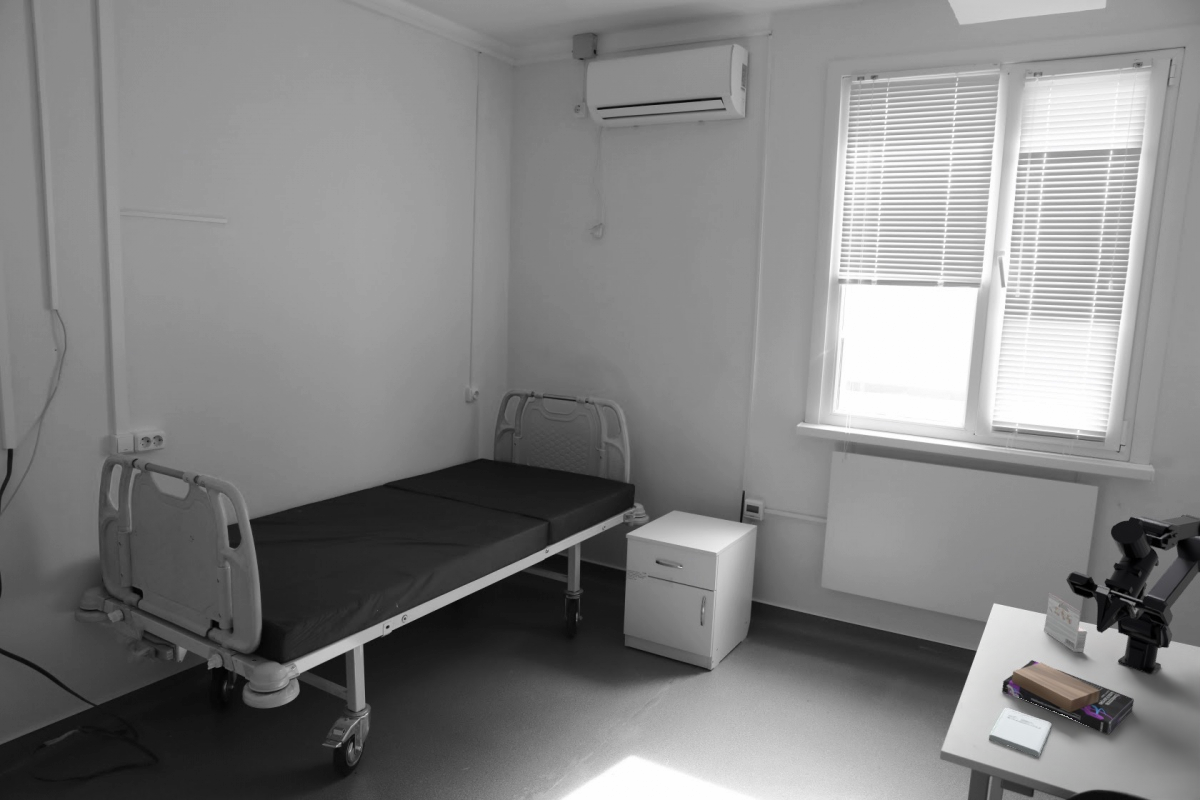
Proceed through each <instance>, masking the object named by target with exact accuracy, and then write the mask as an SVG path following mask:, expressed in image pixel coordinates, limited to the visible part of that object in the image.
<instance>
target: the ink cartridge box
mask: <svg viewBox="0 0 1200 800" xmlns="http://www.w3.org/2000/svg"><path fill="white" fill-rule="evenodd" d="M1047 602H1048V603H1047V611H1046V615H1045V620H1044V621H1045V623H1044V628H1043V631H1044V633H1047V634H1048V635H1050V636H1051V638H1054V639H1055V640H1057V641H1059V643H1061V644H1063V645H1064V646H1065V647H1067V648H1069V650H1071V651H1072V652H1075V653H1083V652H1084V651H1085V650H1084V649H1085V646H1086V640H1087V634H1088V632H1087V630H1086V629H1084V628H1082V626H1080V621H1081V613H1082V612H1081V611H1080V610H1078V609H1077V608H1075V607H1073V606H1072V605H1071V604H1068V603H1067V602H1065V601H1064V600H1062V599H1060V598H1059V597H1058V596H1055V595H1053V594H1052V593H1050V592H1048V601H1047ZM1061 605H1063V606H1064V607H1065V608H1066V609H1067V610H1068V611H1067V610H1065V609H1064V608H1063V607H1061Z"/></svg>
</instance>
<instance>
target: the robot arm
mask: <svg viewBox="0 0 1200 800" xmlns="http://www.w3.org/2000/svg"><path fill="white" fill-rule="evenodd" d="M1110 535H1111V537H1112V540H1113V542H1114V544H1115V545H1116V548H1117V550H1118V551H1119V553H1120V555H1122V556H1121V558H1120V560H1119V561H1118V562H1115V563H1114V564H1113V568H1114V571H1113V572H1112V574H1111V576H1110V577H1109V578H1105V580H1104V584H1105V586H1104V585H1101V584H1096V583H1095V581H1094V579H1093V577H1092V576H1090V575H1087V574H1084V573H1081V572H1079V571H1073V572H1071V573H1069V574H1068V576H1067V578H1066V582H1067V584H1068V586H1069V588H1070V590H1071V591H1072V593H1073V594H1075V595H1077V596H1080V597H1082V598H1085V599H1092V598H1094V600H1095V601H1096V604H1097V605H1096V607H1097V609H1096V610H1097V612H1096V613H1097V614H1096V631H1097V632H1098V633H1101V634H1103V633H1104V632H1105V631H1106V630H1108V629H1109V628H1111V627H1112V626H1113V625H1115V624H1116V623H1117V632H1118V633H1119V634H1122V635H1125V636H1127V640H1126V646H1125V653H1124V655H1123V656H1122V657H1120V658H1119V659H1118V661H1117V663H1119V664H1122V665H1125V666H1128V667H1129V668H1132V669H1136V670H1138V671H1140V672H1143V673H1147V674H1154V672H1156V671H1157V670H1158V669H1159V668H1161V666H1162V664H1161V663H1159V662H1157V657H1158V652H1159V649H1161V648H1166V649H1168V648H1169V647H1170V644H1171V642H1172V638H1173V633H1172V631H1171V628H1170V624H1171V622H1172V621H1173V616H1174V615H1173V613H1172V610H1171V608H1172V607H1173V605H1174V604H1175V603H1176V602H1177V600H1178V599H1179V598H1180V596H1181V595H1182V594H1183V593H1184V591H1185V590H1186V589H1187V587H1188V586H1189V585H1190V583H1191V582H1192V581H1193V580H1194V579H1195V577H1196V576H1197V575H1198V574H1199V573H1200V517H1198V516H1194V515H1190V514H1182V515H1180V516H1177V517H1174V518H1173V517H1172V518H1168V519H1162V520H1161V519H1157V518H1152V517H1149V516H1148V517H1147V516H1140V517H1134V516H1130V517H1129V519H1127V520H1122V521H1120V522H1117V523H1116V524H1114V525H1112V526H1111V529H1110ZM1174 547H1176V554H1177V555H1176V556H1177V557H1176V558H1175V560H1174V561H1172V563H1171V564H1170V566H1169V567H1168V568H1167V569H1166V570H1165V572H1164V573H1163V574H1162V575H1161V576H1160V578H1159V579H1158V580H1157V581H1156V582H1155V583H1154V585H1153V586H1152V587H1151V589H1150V590H1149V592H1147V594H1146V595H1145V592H1146V588H1147V586H1148V584H1147V581H1148V578H1149V577H1150V575H1151V573H1152V571H1153V570H1154V568H1155V567H1158V566H1159V563H1160V561H1159V556H1158V554H1157V551H1156V550H1155V549H1158V550H1162V551H1166V552H1167V551H1170V550H1171V549H1173V548H1174Z"/></svg>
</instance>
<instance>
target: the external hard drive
mask: <svg viewBox="0 0 1200 800" xmlns="http://www.w3.org/2000/svg"><path fill="white" fill-rule="evenodd" d="M1050 728H1051V729H1052V723H1051V722H1050V721H1047V720H1045V719H1041V718H1038V717H1036V716H1033V715H1029V714H1026V713H1023V712H1022V711H1021V712H1020V711H1017V710H1014V709H1012V708H1008V707H1004V709H1003V710H1002V712H1001V714H1000V716H999V717H998V719H997V721H996V722H995V724H994V727H993V728H992V729H991V732H990V733H989V736H988V740H990V741H993V742H995V741H996V742H995V743H998V744H1001V743H1002V744H1001V745H1004V746H1007V745H1009V746H1011V747H1010V748H1012V747H1014V748H1013V749H1015V748H1016V749H1015V750H1018V749H1019V750H1018V751H1020V750H1022V751H1021V752H1023V751H1024V752H1023V753H1026V752H1027V753H1026V754H1029V755H1032V754H1033V755H1032V756H1034V755H1036V756H1035V757H1037V756H1038V757H1037V758H1039V757H1040V755H1041V753H1042V751H1041V750H1043V748H1044V746H1043V745H1045V743H1046V741H1047V739H1046V738H1048V736H1049V734H1050V732H1051V729H1050ZM1049 731H1050V732H1049ZM1009 746H1008V747H1009ZM1040 752H1041V753H1040Z"/></svg>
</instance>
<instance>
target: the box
mask: <svg viewBox="0 0 1200 800" xmlns="http://www.w3.org/2000/svg"><path fill="white" fill-rule="evenodd" d="M1038 663H1039V662H1038V661H1036V660H1033V659H1032V660H1030V661H1029V662H1028V663H1026V664H1025V665H1024V666H1022V667H1021V668H1020V669H1022V668H1025V667H1028V666H1031V665H1035V664H1038ZM1055 669H1056V668H1055ZM1056 670H1058V671H1060V672H1062V673H1064V674H1066V675H1069V676H1071V677H1073V678H1075V679H1077V680H1079V681H1081V682H1083V683H1085V684H1087V685H1090V686H1092V687H1094V688H1096V689H1098V690H1100V692H1099V698H1098V702H1096V703H1093V704H1091V705H1088V706H1085V707H1083V708H1080V709H1077V710H1074V711H1072V712H1069V711H1067V710H1065V709H1063V708H1061V707H1059V706H1057V705H1055V704H1053V703H1051V702H1049V701H1047V700H1045V699H1043V698H1041V697H1039V696H1037V695H1036V694H1034V693H1032V692H1030V691H1028V690H1026V689H1024V688H1022V687H1020V686H1018V685H1016V684H1014V683H1012V677H1013V674H1011V675H1010V676H1009V677H1007V678H1005V679H1004V680H1003V681H1002V688H1001V689H1002V693H1005V694H1007V695H1010V696H1012V695H1013V696H1012V697H1014V698H1017V697H1019V698H1022V699H1024V700H1027V701H1029V702H1032V703H1034V704H1037V705H1039V706H1042V707H1044V708H1047V709H1049V710H1051V711H1055V712H1057V713H1059V714H1063V715H1065V716H1068V717H1069V718H1072V719H1073V720H1076V721H1078V722H1080V723H1082V724H1081V725H1083V724H1084V725H1083V726H1085V725H1087V726H1086V727H1088V726H1089V727H1088V728H1091V729H1092V728H1093V729H1092V730H1094V731H1098V732H1100V733H1102V734H1105V735H1107V736H1108V735H1110V733H1112V732H1113V730H1114V729H1115V728H1116V727H1117V726H1118V725H1119V724H1120V723H1121V722H1122V721H1123V720H1124V719H1125V718H1126V717H1128V715H1129V714H1130V713H1132V712H1133V708H1134V702H1135V699H1134V698H1133V697H1130V696H1127V695H1124V694H1123V693H1120V692H1117V691H1114V690H1112V689H1109V688H1106V687H1104V686H1101V685H1099V684H1097V683H1094V682H1091V681H1088V680H1085V679H1082V678H1081V677H1077V676H1075V675H1073V674H1070V673H1067V672H1065V671H1063V670H1059V669H1056ZM1019 698H1018V699H1019ZM1022 699H1021V700H1022ZM1024 700H1023V701H1024ZM1027 701H1026V702H1027ZM1029 702H1028V703H1029ZM1032 703H1031V704H1032ZM1034 704H1033V705H1034ZM1039 706H1038V707H1039ZM1044 708H1043V709H1044ZM1049 710H1048V711H1049ZM1051 711H1050V712H1051ZM1073 720H1072V721H1073ZM1078 722H1077V723H1078ZM1080 723H1079V724H1080Z"/></svg>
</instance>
